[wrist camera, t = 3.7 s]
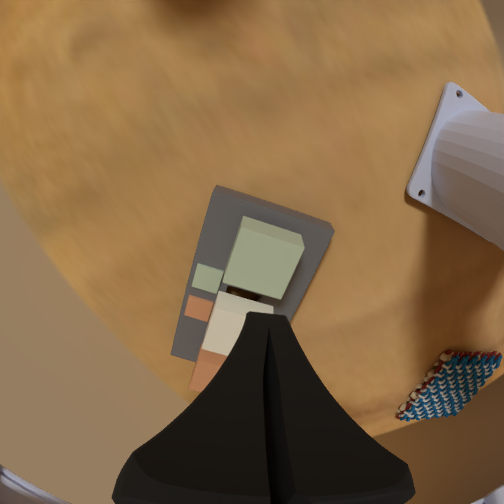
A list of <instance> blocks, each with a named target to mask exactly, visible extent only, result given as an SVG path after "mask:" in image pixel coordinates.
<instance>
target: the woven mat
mask: <svg viewBox="0 0 504 504" xmlns="http://www.w3.org/2000/svg"><path fill="white" fill-rule="evenodd" d="M496 352H497V351H494V352H491V353H481V351H478V352H475V353H472V352H469V353H467V352H465V353H463V352H452V350H448V351H446V352H445V353H442V354H441V356H440V357H439V358H440V359H441V362H436V363H435V365H434V366H438V367H437V369H431V370H429V372H428V374H427V375H428V377H425V378H424V379H423V381H425V382H426V383H425V384H417V385H416V386H415V389H420V390H416V391H415V392H414V391H413V392H412V394H411V395H410V397H409V398H408V399H407V400H406V401H410V402H409V403H405V404H402V405H401V406H400V408H399V410H397V411H396V413H400V414H399V415H398V416H397V419H400V420H405V419H406V421H410V419H411V420H412V419H416V420H420V418H421V419H423V418H426V419H430V417H431V418H432V417H436V418H439V416H444V415H445V417H448V415H452V414H453V416H456V414H457V413H458V412H459V411H460V410H462V409H463V407H464V406H465V405H466V404H467V402H469V401H470V400H471V399H472V397H473V396H474V395H475V394H477V391H478V389H480V388H481V386H483V385H484V384H485V381H487V380H488V377H490V376H492V373H493V371H495V370H496V368H498V367H499V365H500V361H501V359H502V358H503V357H502V355H501V353H499V354H498V353H496ZM459 359H460V360H459ZM458 360H459V361H458ZM447 361H448V362H447ZM495 365H496V366H495ZM442 367H443V368H442ZM473 392H474V393H473ZM421 415H422V416H421ZM401 417H402V418H401Z"/></svg>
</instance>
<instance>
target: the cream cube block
mask: <svg viewBox="0 0 504 504" xmlns="http://www.w3.org/2000/svg"><path fill="white" fill-rule="evenodd" d="M249 311H253V312H261V313H270V314H273V306H270V305H267V304H263V303H259V302H256V301H253V300H249V299H246V298H242V297H239V296H235V295H232V294H229V293H225V292H222V291H219V292H218V295H217V298H216V301H215V304H214V307H213V310H212V313H211V316H210V319H209V322H208V325H207V328H206V332H205V336H204V340H203V344H202V349H204V350H208V351H211V352H215V353H218V354H222V355H226V356H228V355H229V353H230V352H231V350H232V348H233V346H234V344H235V342H236V340H237V338H238V337H239V334H240V332H241V330H242V327H243V325H244V322H245V318H246V313H248V312H249Z"/></svg>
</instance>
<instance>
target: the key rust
mask: <svg viewBox="0 0 504 504" xmlns="http://www.w3.org/2000/svg"><path fill="white" fill-rule="evenodd" d="M202 344H203V343H202ZM202 344H201V347H200V350H199V353H198V356H197V360H196V363H195V366H194V369H193V372H192V377H191V381H190V385H189V389H191V390H194V391H198V392H202V391H203V390H204V388H205V387H206V386H207V385H208V384H209V382H210V381H211V380H212V378H213V377H214V376H215V374H216V373H217V372H218V370H219V369H220V367H221V366H222V364H223V363H224V361H225V360H226V358H227V356H226V355H222V354H218V353H215V352H211V351H208V350H204V349H202Z"/></svg>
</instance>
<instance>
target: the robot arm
mask: <svg viewBox="0 0 504 504" xmlns="http://www.w3.org/2000/svg"><path fill="white" fill-rule="evenodd" d="M457 91H458V92H459V97H457V94H456V92H457ZM420 190H422V191H423V192H422V194H421V196H418V193H419V191H420ZM406 191H407V194H408V195H409V196H410V197H412V198H413V199H415V200H417V201H419V202H421V203H423V204H425V205H427V206H429V207H431V208H433V209H434V210H436V211H438V212H440V213H442V214H444V215H445V216H447V217H449V218H451V219H452V220H454V221H456V222H458V223H459V224H461V225H463V226H465V227H466V228H468V229H470V230H471V231H473V232H475V233H476V234H478V235H479V236H481V237H483V238H484V239H486V240H487V241H489V242H491V243H494V244H495V245H496V246H498V247H499V248H500V249H501V250H503V251H504V114H500V113H494V112H490V111H489V110H488V109H487V108H485V107H484V106H483V105H482V104H481V103H480V102H478V101H477V100H476V99H475V98H474V97H472V96H471V95H470V94H469V93H467V92H466V91H465V90H463V89H462V88H461V87H460V86H458V85H457V84H456V83H454V82H448V83H446V85H445V87H444V90H443V93H442V96H441V99H440V102H439V105H438V108H437V111H436V114H435V117H434V120H433V123H432V125H431V128H430V131H429V134H428V136H427V139H426V141H425V144H424V147H423V149H422V152H421V154H420V157H419V159H418V162H417V164H416V166H415V169H414V171H413V173H412V176H411V178H410V180H409V183H408V185H407V188H406ZM414 494H415V488H414V484H413V479H412V475H411V473H410V470H409V467H408V464H407V463H405V462H404V461H402V460H401V459H399V458H398V457H397V456H395V455H394V454H392V453H391V452H389V451H388V450H387V449H385V448H384V447H382V446H381V445H380V444H379V443H378V442H376V441H375V440H374V439H373V438H372V437H371V436H369V435H368V434H367V433H366V432H365V431H364V430H363V429H362V428H361V427H360V426H359V425H358V424H357V423H356V422H355V421H354V420H353V419H352V418H351V417H350V416H349V415H348V414H347V413H346V412H345V411H344V409H343V408H342V407H341V406H340V405H339V404H338V403H337V401H336V400H335V399H334V398H333V396H332V395H331V394H330V392H329V391H328V390H327V388H326V387H325V386H324V384H323V383H322V381H321V380H320V378H319V377H318V375H317V374H316V372H315V371H314V369H313V368H312V366H311V364H310V363H309V361H308V359H307V357H306V356H305V354H304V352H303V350H302V348H301V346H300V345H299V343H298V341H297V339H296V337H295V334H294V332H293V330H292V328H291V326H290V323H289V321H288V318H287V317H286V316H285V315H279V314H270V313H261V312H253V311H249V312H248V313H246V318H245V322H244V325H243V327H242V330H241V332H240V334H239V337H238V338H237V340H236V342H235V344H234V346H233V348H232V350H231V352H230V353H229V355H228V356H227V358H226V360H225V361H224V363H223V364H222V366H221V367H220V369H219V370H218V372H217V373H216V374H215V376H214V377H213V378H212V380H211V381H210V382H209V384H208V385H207V386H206V387H205V388H204V390H203V391H202V392H201V393H200V394H199V395H198V396H197V398H196V399H195V400H194V401H193V402H192V403H191V404H190V405H189V406H188V407H187V408H186V409H185V410H184V411H183V412H182V413H181V414H180V415H179V416H178V417H177V418H176V419H174V420H173V421H172V422H171V423H170V424H169V425H168V426H167V427H165V428H164V429H163V430H162V431H161V432H159V433H158V434H157V435H156V436H154V437H153V438H152V439H150V440H149V441H147V442H146V443H145V444H143V445H142V446H140V447H139V448H138V449H136V450H135V451H134V452H133V453H132V454H131V455H130V457H129V458H128V460H127V461H126V463H125V465H124V466H123V468H122V470H121V472H120V474H119V476H118V478H117V481H116V484H115V487H114V491H113V494H112V499H113V501H114V502H115V504H404V503H405V502H407V501H408V500H410V499H411V498H412V497H413V496H414ZM0 504H71V503H68V502H66V501H64V500H62V499H60V498H58V497H56V496H54V495H52V494H50V493H48V492H46V491H44V490H42V489H40V488H38V487H37V486H35V485H33V484H31V483H29V482H28V481H26V480H24V479H23V478H21V477H19V476H18V475H16V474H14V473H13V472H11V471H9V470H8V469H7V468H5V467H3V466H2V465H0ZM471 504H504V485H502V486H500V487H499V488H497V489H495V490H494V491H492V492H491V493H489V494H487V495H486V496H485V497H484V498H482V499H480V500H478V501H476V502H473V503H471Z"/></svg>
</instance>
